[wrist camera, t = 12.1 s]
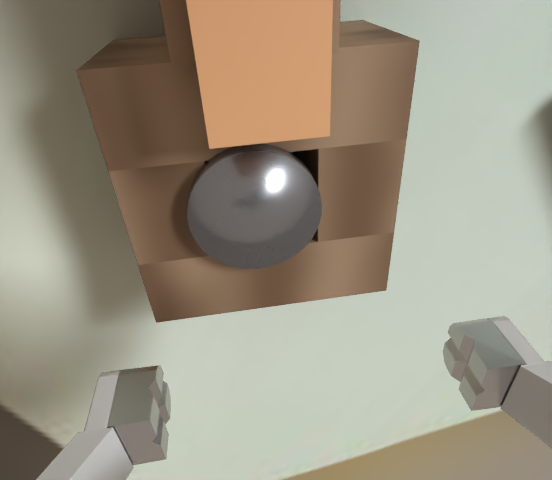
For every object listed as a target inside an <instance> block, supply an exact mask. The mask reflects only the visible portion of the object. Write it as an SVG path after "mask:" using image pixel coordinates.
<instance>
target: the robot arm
mask: <svg viewBox="0 0 552 480" xmlns="http://www.w3.org/2000/svg"><path fill="white" fill-rule="evenodd" d="M448 334H449V335H450V337H451V338H450V339H449V340H448V341H447V342H446V343H445V344H444V349H443V356H444V362H445V364H446V367H447V369H448V371H449V373H450V375H451V376H452V377H454V378H455V379H457V380H458V381H460V386H459V390H460V392H461V394H462V396H463V397H464V399H465V401H466V403H467V404H468V406H469V408H470V409H471V411H473V410H480V409H488V408H496V407H501V409H502V410H503V411H505V412H506V413H507V414H509V415H510V416H511V417H512V418H514V419H515V420H516V421H517V422H519V423H520V424H521V425H522V426H524V427H525V428H526V429H528V430H529V431H530V432H532V433H533V434H534V435H535V436H537V437H538V438H539V439H540V440H542V441H543V442H544V443H546V444H547V445H548V446H549V447H551V448H552V362H551V361H546V362H545V361H544V360H543V359H542V358H541V357H540V355H539V354H538V353H537V352H536V351H535V349H534V348H533V347H532V346H531V345H530V343H529V342H528V341H527V340H526V339H525V337H524V336H523V335H522V334H521V332H520V331H519V330H518V329H517V328H516V326H515V325H514V324H513V323H512V322H511V320H510V319H509V318H507V317H505V316H501V317H494V318H487V319H478V320H472V321H465V322H459V323H453V324H452V325H451V326H450V327H449V330H448ZM163 374H164V373H163V370H162V368H161V366H151V367H143V368H134V369H125V370H117V371H110V372H102V373H101V375H100V377H99V378H98V381H97V385H96V388H95V392H94V396H93V400H92V403H91V407H90V411H89V415H88V418H87V422H86V426H85V430H84V431H83V432H78V433H77V434H76V435H75V436H74V438H73V439H72V440H71V441H70V442H69V443H68V444H67V445H66V447H65V448H64V449H63V450H62V451H61V452H60V453H59V455H58V456H57V457H56V458H55V459H54V460H53V461H52V462H51V463H50V465H49V466H48V467H47V468H46V469H45V471H43V472H42V474H41V475H40V476H39V477H38V478H37V479H36V480H126V479H127V477H128V476H129V474H130V472H131V471H132V469H133V468H134V467H133V465H137V464H143V463H148V462H153V461H159V460H164V459H166V457H167V446H168V436H169V434H168V431H167V428H166V426H165V424H166V423H167V422H168V420H169V419H170V411H171V401H170V392H169V388H168V385H167V383H166V382H164V381H163Z"/></svg>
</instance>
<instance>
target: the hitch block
mask: <svg viewBox="0 0 552 480" xmlns="http://www.w3.org/2000/svg"><path fill="white" fill-rule="evenodd" d="M159 3H160V8H161V13H162V19H163V24H164V29H165V35H166V36H162V37H150V38H137V39H125V40H113V41H112V42H110V43H109V44H108V45H107V46H106V47H104V48H103V49H102V50H101V51H100V52H98V53H97V54H96V55H95V56H94V57H92V58H91V59H90V60H89V61H87V62H86V63H85V64H84V65H83V66H81V67H80V68H79V69H78V70H77V74H78V77H79V80H80V83H81V87H82V90H83V93H84V96H85V99H86V102H87V106H88V109H89V112H90V115H91V118H92V121H93V124H94V128H95V131H96V134H97V137H98V140H99V143H100V147H101V150H102V153H103V156H104V159H105V162H106V165H107V169H108V172H109V175H110V178H111V181H112V184H113V188H114V191H115V194H116V197H117V200H118V203H119V206H120V210H121V213H122V216H123V219H124V222H125V225H126V229H127V232H128V235H129V238H130V241H131V244H132V247H133V251H134V254H135V257H136V260H137V263H138V266H139V270H140V273H141V276H142V279H143V282H144V285H145V288H146V292H147V295H148V298H149V301H150V304H151V307H152V311H153V314H154V317H155V320H156V322H163V321H170V320H178V319H185V318H192V317H199V316H206V315H213V314H221V313H228V312H235V311H242V310H249V309H256V308H263V307H271V306H278V305H285V304H292V303H299V302H306V301H314V300H321V299H328V298H335V297H342V296H349V295H356V294H364V293H371V292H378V291H385V290H386V288H387V280H388V273H389V265H390V258H391V250H392V243H393V235H394V228H395V221H396V213H397V206H398V198H399V191H400V183H401V176H402V168H403V161H404V153H405V146H406V138H407V131H408V123H409V116H410V108H411V101H412V93H413V86H414V78H415V71H416V63H417V56H418V48H419V40H416V39H413V38H410V37H408V36H405V35H402V34H399V33H397V32H394V31H391V30H388V29H386V28H383V27H380V26H378V25H375V24H372V23H369V22H367V21H364V20H359V21H346V22H340V0H333V20H332V66H331V112H330V136H327V137H318V138H308V139H299V140H289V141H280V142H270V143H262V144H269V145H274V146H277V147H280V148H283V149H285V150H287V151H289V152H293V155H295V156H296V157H298V158H299V159H300V160H301V161H302V162H303V163H304V164H305V166H306V167H307V168H308V169H309V171H310V173H311V175H312V176H313V179H314V181H315V183H316V185H317V187H318V189H319V192H320V196H321V200H322V214H321V219H320V223H319V226H318V229H317V231H316V233H315V234H314V236H313V238H312V239H311V240H310V242H309V243H308V244H307V245H306V246H305V248H304V249H302V250H301V251H300V252H299V253H298V254H296V255H295V256H293V257H292V258H290V259H288V260H287V261H285V262H282V263H280V264H277V265H274V266H271V267H266V268H260V269H242V268H236V267H232V266H228V265H225V264H223V263H221V262H219V261H217V260H215V259H213V258H212V257H210V256H209V255H208V254H206V253H205V252H204V251H203V250H202V249H201V248H200V247H199V245H198V244H197V243H196V241H195V240H194V238H193V236H192V234H191V231H190V228H189V225H188V218H187V209H188V197H189V191H190V188H191V185H192V182H193V180H194V178H195V176H196V174H197V173H198V172H199V170H200V169H201V168H202V166H203V165H204V164H205V163H206V162H207V161H208V160H210V159H211V158H212V157H213V156H215V155H217V154H218V153H220V152H221V151H224V150H226V149H228V148H231V147H223V148H213V149H209V144H208V137H207V131H206V124H205V118H204V112H203V105H202V99H201V92H200V86H199V80H198V73H197V67H196V61H195V54H194V48H193V41H192V35H191V29H190V22H189V16H188V9H187V3H186V0H159ZM232 147H234V146H232Z"/></svg>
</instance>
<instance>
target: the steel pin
mask: <svg viewBox="0 0 552 480" xmlns="http://www.w3.org/2000/svg"><path fill="white" fill-rule="evenodd" d="M321 214H322V200H321V196H320V192H319V189H318V187H317V185H316V183H315V181H314V179H313V176H312V175H311V173H310V171H309V169H308V168H307V167H306V166H305V164H304V163H303V162H302V161H301V160H300V159H299V158H298V157H296V156H295V155H293V154H292V153H291V152H289V151H287V150H285V149H283V148H280V147H277V146H274V145H269V144H262V143H261V144H251V145H242V146H234V147H231V148H228V149H226V150H224V151H221V152H220V153H218V154H217V155H215V156H213V157H212V158H211V159H210V160H208V161H207V162H206V163H205V164H204V165H203V166H202V168H201V169H200V170H199V172H198V173H197V174H196V176H195V178H194V180H193V182H192V185H191V188H190V191H189V197H188V209H187V218H188V225H189V228H190V231H191V234H192V236H193V238H194V240H195V241H196V243H197V244H198V245H199V247H200V248H201V249H202V250H203V251H204V252H205V253H206V254H208V255H209V256H210V257H212V258H213V259H215V260H217V261H219V262H221V263H223V264H225V265H228V266H232V267H236V268H242V269H260V268H266V267H271V266H274V265H277V264H280V263H282V262H285V261H287V260H288V259H290V258H292V257H293V256H295V255H296V254H298V253H299V252H300V251H301V250H302V249H304V248H305V246H306V245H307V244H308V243H309V242H310V240H311V239H312V238H313V236H314V234H315V233H316V231H317V229H318V226H319V223H320V219H321Z"/></svg>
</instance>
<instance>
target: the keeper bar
mask: <svg viewBox="0 0 552 480" xmlns="http://www.w3.org/2000/svg"><path fill="white" fill-rule="evenodd" d="M186 3H187V9H188V16H189V22H190V29H191V35H192V41H193V48H194V54H195V61H196V67H197V73H198V80H199V86H200V92H201V99H202V105H203V112H204V118H205V124H206V131H207V137H208V144H209V149H213V148H223V147H232V146H242V145H251V144H261V143H270V142H280V141H289V140H299V139H308V138H318V137H327V136H330V112H331V66H332V20H333V0H186Z"/></svg>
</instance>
